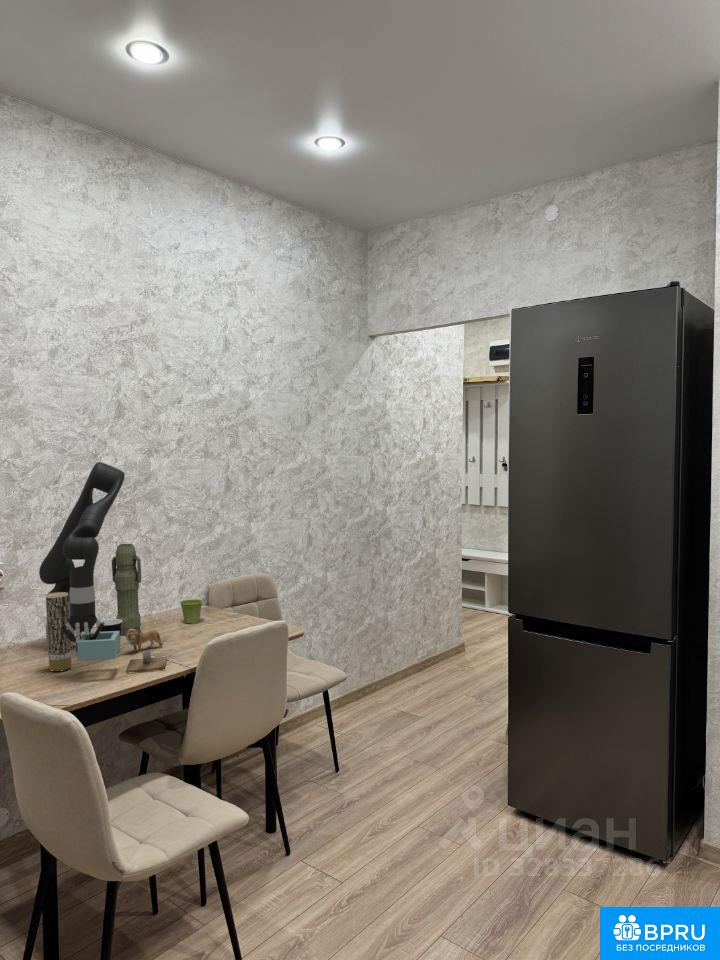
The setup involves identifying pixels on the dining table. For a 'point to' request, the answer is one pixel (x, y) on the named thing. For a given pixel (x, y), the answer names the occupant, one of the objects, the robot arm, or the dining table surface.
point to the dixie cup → (112, 625)
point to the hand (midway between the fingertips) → (83, 653)
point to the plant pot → (191, 610)
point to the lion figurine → (142, 638)
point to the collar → (99, 646)
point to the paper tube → (58, 631)
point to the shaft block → (146, 663)
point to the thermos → (127, 586)
